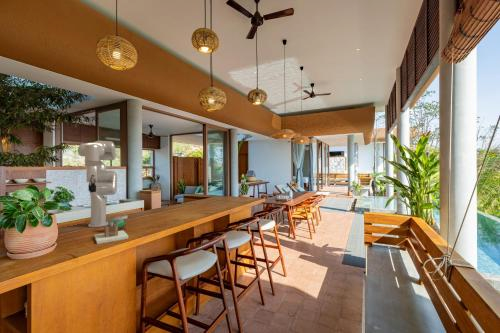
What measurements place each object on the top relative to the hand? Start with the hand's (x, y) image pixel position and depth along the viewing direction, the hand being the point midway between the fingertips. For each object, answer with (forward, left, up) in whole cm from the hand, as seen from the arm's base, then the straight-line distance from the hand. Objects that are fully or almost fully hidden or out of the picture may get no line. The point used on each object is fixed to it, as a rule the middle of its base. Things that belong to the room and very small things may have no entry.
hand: (92, 191), depth 145 cm
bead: (+11, +9, -27) cm, 30 cm away
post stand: (+11, +9, -28) cm, 32 cm away
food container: (-4, +14, -28) cm, 32 cm away
